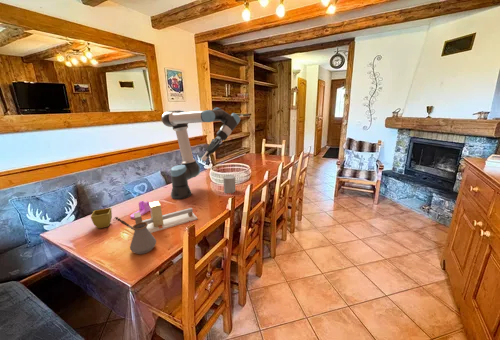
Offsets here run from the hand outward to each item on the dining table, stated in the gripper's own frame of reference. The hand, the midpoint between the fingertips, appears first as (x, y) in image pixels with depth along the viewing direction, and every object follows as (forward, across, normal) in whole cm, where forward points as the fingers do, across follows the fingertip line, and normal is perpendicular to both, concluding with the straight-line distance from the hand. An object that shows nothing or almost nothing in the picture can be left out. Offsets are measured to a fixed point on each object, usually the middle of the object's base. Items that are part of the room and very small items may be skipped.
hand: (202, 160), depth 145 cm
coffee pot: (+57, -27, +11) cm, 64 cm away
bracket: (+52, +11, +6) cm, 54 cm away
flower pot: (+66, +7, +20) cm, 69 cm away
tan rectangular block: (+46, -12, +3) cm, 48 cm away
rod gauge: (+44, -12, -2) cm, 45 cm away
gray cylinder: (+5, +12, -40) cm, 43 cm away
